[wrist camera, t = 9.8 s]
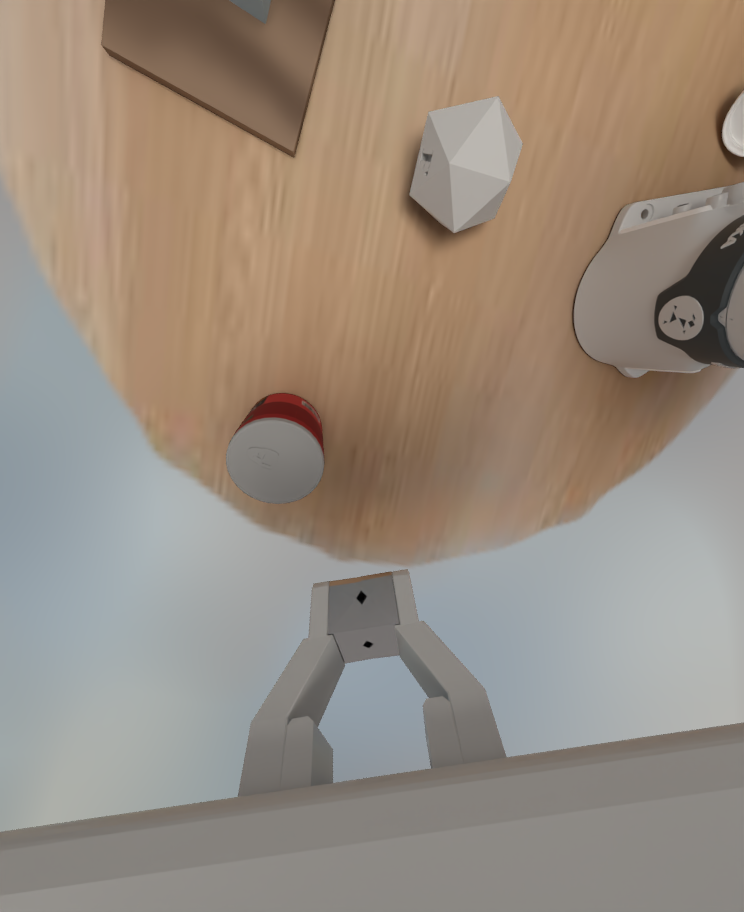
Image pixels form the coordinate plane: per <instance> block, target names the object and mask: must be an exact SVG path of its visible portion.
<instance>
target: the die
mask: <svg viewBox="0 0 744 912" xmlns="http://www.w3.org/2000/svg"><path fill="white" fill-rule="evenodd" d="M522 145H523V143H522V141H521V139H520V137H519V135H518V134H517V132H516V130H515V128H514V126H513V124H512V122H511V120H510V118H509V116H508V114H507V112H506V110H505V108H504V106H503V104H502V102H501V100H500V98H499V96H497V97H492V98H488V99H484V100H479V101H475V102H470V103H466V104H462V105H457V106H453V107H448V108H444V109H439V110H435V111H431V112H428V116H427V120H426V125H425V129H424V133H423V138H422V142H421V146H420V151H419V155H418V159H417V164H416V168H415V172H414V177H413V181H412V185H411V190H410V194H409V195H410V196H411V197H412V198H413V199H414V200H415V201H416V202H418V203H419V204H420V205H421V206H422V207H423V208H424V209H425V210H426V211H427V212H428V213H430V214H431V215H432V216H433V217H434V218H435V219H436V220H437V221H438V222H439V223H441V224H442V225H443V226H445V227H446V228H448V229H449V230H451V231H452V232H453V233H456V232H459V231H461V230H464V229H467V228H470V227H472V226H475V225H478V224H480V223H483V222H486V221H489V220H491V219H494V218H495V216H496V214H497V211H498V209H499V207H500V205H501V202H502V200H503V198H504V196H505V194H506V191H507V189H508V187H509V185H510V182H511V179H512V176H513V173H514V170H515V167H516V164H517V160H518V157H519V154H520V151H521V148H522Z"/></svg>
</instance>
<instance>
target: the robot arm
mask: <svg viewBox="0 0 744 912" xmlns="http://www.w3.org/2000/svg"><path fill="white" fill-rule="evenodd" d="M641 213H642V218H641ZM574 325H575V331H576V335H577V338H578V341H579V343H580V345H581V346H582V348H583V349H584V351H585V352H586V353H587V354H588V355H589V356H591V357H592V358H594V359H595V360H597V361H600V362H603V363H607V364H611V365H613V366H615V367H616V368H617V369H618V370H619V371H620V372H621V373H622V374H623V375H624V376H626V377H632V378H637V377H640V376H642V375H643V374H645V373H647V372H648V371H650V370H652V371H665V372H680V373H696V372H699V371H701V369H703V368H706V367H708V366H710V365H717V366H720V367H726V368H744V182H742V183H738V184H735V185H731V186H726V187H720V188H714V189H709V190H703V191H697V192H691V193H686V194H680V195H674V196H668V197H663V198H657V199H651V200H645V201H640V202H635V203H630V204H628V205H626V206H625V207H623V208H622V210H621V211H620V213H619V215H618V216H617V219H616V221H615V223H614V226H613V228H612V231H611V233H610V236H609V238H608V240H607V241H606V243H605V244H604V246H603V247H602V248H601V250H600V251H599V252H598V253H597V255H596V256H595V257H594V259H593V260H592V262H591V263H590V265H589V266H588V268H587V270H586V272H585V274H584V276H583V278H582V280H581V283H580V286H579V288H578V292H577V296H576V300H575V307H574ZM393 583H394V584H393ZM397 655H400V657H401V659H402V660H403V662H404V663H405V665H406V666H407V667H408V669H409V670H410V672H411V673H412V675H413V676H414V677H415V679H416V680H417V682H418V683H419V684H420V686H421V687H422V689H423V690H424V692H425V693H426V694H427V696H428V697H429V698H428V699H426V700H425V703H424V704H423V713H424V723H425V733H426V740H427V746H428V752H429V759H430V765H431V769H425V770H418V771H411V772H404V773H397V774H391V775H384V776H378V777H370V778H363V779H357V780H350V781H343V782H336V783H333V749H332V748H331V746H330V745H329V743H328V742H327V740H326V739H325V737H324V736H323V735H322V733H321V732H320V731H319V729H318V725H319V723H320V721H321V719H322V716H323V714H324V712H325V710H326V707H327V705H328V703H329V700H330V698H331V696H332V694H333V692H334V689H335V687H336V685H337V682H338V680H339V678H340V676H341V674H342V671H343V669H344V667H345V663H350V662H355V661H362V660H367V659H373V658H381V657H390V656H397ZM0 912H744V723H737V724H731V725H724V726H717V727H710V728H704V729H697V730H690V731H683V732H676V733H670V734H663V735H656V736H650V737H642V738H635V739H629V740H622V741H616V742H608V743H601V744H595V745H588V746H581V747H575V748H567V749H561V750H554V751H547V752H540V753H533V754H527V755H520V756H514V757H506V754H505V751H504V748H503V745H502V741H501V738H500V735H499V732H498V729H497V725H496V722H495V719H494V716H493V713H492V710H491V707H490V703H489V700H488V697H487V694H486V690H485V689H484V687H483V686H482V685H481V684H480V683H479V682H478V681H477V679H476V678H475V677H474V676H473V675H472V674H471V673H470V672H469V670H468V669H467V668H466V667H465V666H464V665H463V664H462V663H461V662H460V661H459V659H458V658H457V657H456V656H455V655H454V654H453V653H452V652H451V651H450V650H449V648H448V647H447V646H446V645H445V644H444V643H443V642H442V641H441V640H440V638H439V637H438V636H437V635H436V634H435V633H434V632H433V631H432V630H431V628H430V627H429V626H428V625H427V624H426V623H425V622H424V621H419V620H418V614H417V610H416V605H415V600H414V595H413V590H412V585H411V580H410V576H409V572H408V569H406V570H400V571H394V572H385V573H379V574H373V575H367V576H361V577H357V578H350V579H343V580H336V581H327V582H321V583H315V584H314V585H313V588H312V598H311V611H310V624H309V637H308V638H306V639H303V641H302V642H301V644H300V646H299V647H298V649H297V650H296V652H295V653H294V655H293V657H292V658H291V660H290V661H289V663H288V665H287V666H286V668H285V670H284V671H283V673H282V674H281V676H280V677H279V679H278V681H277V682H276V684H275V685H274V687H273V689H272V690H271V692H270V694H269V695H268V696H267V698H266V700H265V701H264V703H263V704H262V706H261V708H260V709H259V711H258V713H257V714H256V715H255V717H254V719H253V720H252V722H251V725H250V731H249V736H248V742H247V748H246V753H245V759H244V764H243V770H242V776H241V781H240V788H239V793H238V797H234V798H228V799H221V800H214V801H207V802H200V803H193V804H187V805H180V806H173V807H166V808H160V809H153V810H146V811H139V812H133V813H126V814H119V815H112V816H105V817H98V818H91V819H85V820H78V821H71V822H64V823H57V824H50V825H44V826H37V827H30V828H23V829H16V830H10V831H4V832H0Z"/></svg>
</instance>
